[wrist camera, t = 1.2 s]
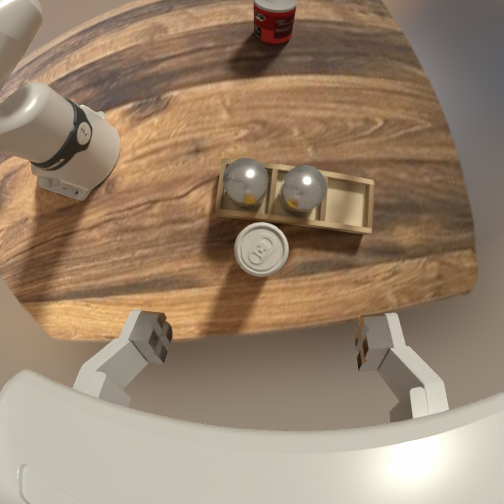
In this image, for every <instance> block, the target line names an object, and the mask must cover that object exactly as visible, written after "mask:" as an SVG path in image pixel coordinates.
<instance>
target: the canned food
mask: <svg viewBox="0 0 504 504" xmlns="http://www.w3.org/2000/svg"><path fill="white" fill-rule="evenodd" d="M295 11H296V0H254V33H255V35H256V37H257V38H258V39H259V40H260V41H262V42H264V43H267V44H272V45H278V44H283V43H285V42H287V41H288V40H289V39H290V37H291V34H292V29H293V23H294V17H295Z"/></svg>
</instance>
